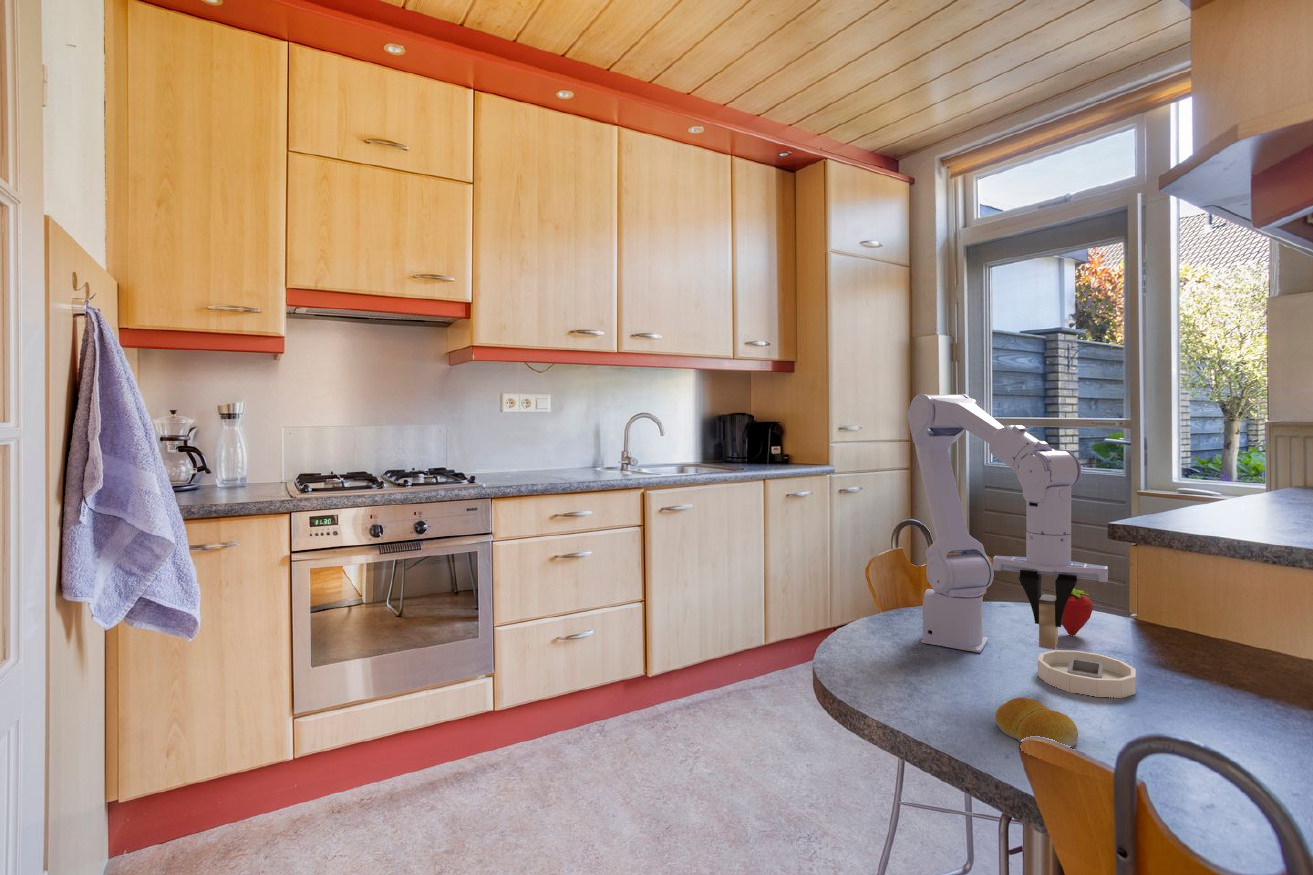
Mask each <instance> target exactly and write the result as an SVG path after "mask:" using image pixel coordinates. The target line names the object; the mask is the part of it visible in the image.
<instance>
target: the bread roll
mask: <svg viewBox="0 0 1313 875" xmlns="http://www.w3.org/2000/svg"><path fill="white" fill-rule="evenodd" d="M994 719H995V722H996V724H997V726H998V728H999V729H1000V731H1002V732H1003V733H1004V734H1006V736H1008V737H1010V738H1012V739H1016V740H1018V741H1019V742H1020V741H1021V740H1022V739H1024V738H1026V737H1030V736H1040V737H1045V738H1049V739H1053V740H1055V741H1057V742H1059V743H1062V744H1065V745H1068V746H1071V747H1072V748H1074V746H1076V744H1077V742H1078V738H1079V730H1078V727H1077V725H1076V723H1075V722H1074V720H1072V718H1071V717H1069V716H1068V715H1067V714H1065V713H1062V712H1059V711H1057V710H1052V709H1049V708H1048V707H1047V706H1046V705H1044V704H1043V703H1041V702H1039V701H1038V700H1035V699H1033V698H1027V697H1015V698H1012V699H1010V700H1007V702H1005V703H1003V704H1001V706H999V707H997V709H996V710H995V718H994Z"/></svg>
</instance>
